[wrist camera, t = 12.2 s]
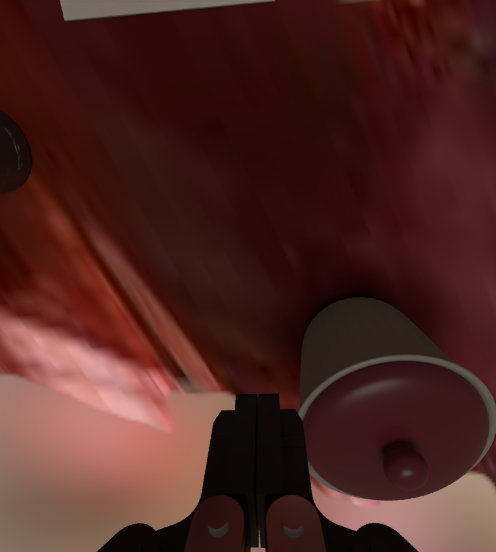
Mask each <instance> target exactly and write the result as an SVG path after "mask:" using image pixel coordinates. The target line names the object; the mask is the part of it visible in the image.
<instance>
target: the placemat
mask: <svg viewBox="0 0 496 552" xmlns="http://www.w3.org/2000/svg"><path fill="white" fill-rule="evenodd" d="M60 2H61V6H62V11H63V15H64V19H65V21H76V20H87V19H97V18H108V17H118V16H129V15H139V14H150V13H160V12H171V11H181V10H192V9H202V8H213V7H223V6H234V5H244V4H255V3H265V2H275V0H60Z"/></svg>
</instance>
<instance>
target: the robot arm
mask: <svg viewBox="0 0 496 552" xmlns="http://www.w3.org/2000/svg"><path fill="white" fill-rule="evenodd" d="M30 167H31V155H30V150H29V147H28V144H27V142H26V139H25V137H24V136H23V134H22V132H21V131H20V129H19V128H18V127H17V126H16V124H15V123H14V122H13V121H12V120H11V119H9V118H8V117H7V116H6V115H5V114H3V113H1V112H0V194H2V193H5V192H9V191H12V190H15V189H17V188H18V187H20V186H21V185H22V184H23V183H24V182H25V181H26V179H27V177H28V175H29V172H30ZM259 531H260V543H261V548H265V550H266V552H418V551H417V550H416V549H415V548H414V547H413V546H412V545H411V544H410V543H409V542H408V541H407V540H406V539H405V538H404V537H402V536H401V535H400V534H399V533H398V532H397V531H396V530H394V529H392V528H391V527H389V526H386V525H384V524H380V523H369V524H366V525H364V526H362V527H361V528H359V529H358V530H357V531H354V530H351V529H349V528H345V527H343V526H340V525H338V524H335V523H333V522H332V521H330V520H328V519H327V518H326V517H325V516H323V514H322V513H321V512H320V511H319V510H318V508H317V507H316V505H315V503H314V500H313V497H312V490H311V482H310V474H309V466H308V458H307V450H306V442H305V434H304V426H303V421H302V419H301V417H300V416H299V414H298V413H297V411H296V410H295V409H280V402H279V394H259V395H258V398H257V394H237V395H236V400H235V410H221V412H220V413H219V415H218V417H217V418H216V419H215V421H214V423H213V428H212V434H211V440H210V446H209V452H208V458H207V464H206V470H205V475H204V481H203V488H202V493H201V498H200V500H199V503H198V505H197V506H196V508H195V509H194V511H193V512H192V513H191V514H190V515H189V516H188V517H186V518H185V519H184V520H182V521H180V522H178V523H176V524H174V525H171V526H168V527H165V528H162V529H159V530H157V531H155V530H154V529H153V528H152V527H151V526H149V525H147V524H142V523H138V524H132V525H129V526H127V527H125V528H123V529H122V530H120V531H119V532H118V533H117V534H115V535H114V536H113V537H112V538H111V539H110V540H109V541H108V542H107V543H106V544H105V545H104V546H103V547H101V549H99V550H98V551H97V552H250V549H251V547H259Z"/></svg>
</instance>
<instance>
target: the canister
mask: <svg viewBox="0 0 496 552" xmlns="http://www.w3.org/2000/svg"><path fill="white" fill-rule="evenodd" d="M298 414H299V416H300V417H301V419H302V421H303V426H304V434H305V442H306V450H307V458H308V466H309V473H310V474H311V475H312V476H313V477H314V478H315V479H317V480H318V481H319V482H321V483H322V484H324V485H325V486H327V487H329V488H331V489H333V490H335V491H338V492H340V493H343V494H346V495H350V496H353V497H358V498H364V499H372V500H384V501H389V500H390V501H392V500H404V499H411V498H416V497H420V496H424V495H427V494H430V493H433V492H435V491H438V490H440V489H442V488H444V487H446V486H448V485H450V484H451V483H453V482H455V481H456V480H458V479H459V478H461V477H462V476H464V475H465V474H466V473H468V472H469V471H470V470H471V469H472V468H473V467H475V466H476V465H477V464H478V463H479V461H480V460H481V459H482V458H483V457H484V455H485V454H486V453H487V451H488V449H489V448H490V446H491V444H492V442H493V439H494V437H495V433H496V405H495V402H494V399H493V397H492V395H491V393H490V391H489V390H488V388H487V387H486V386H485V384H484V383H483V382H482V381H481V380H480V379H479V378H478V377H477V376H476V375H474V374H473V373H472V372H470V371H469V370H467V369H466V368H464V367H462V366H460V365H458V364H456V363H454V362H452V361H451V360H450V359H449V358H448V357H447V356H446V355H445V354H444V353H443V352H442V351H441V350H440V349H439V348H438V347H437V346H436V345H435V344H434V343H433V342H432V341H431V340H430V339H429V338H428V337H427V336H426V335H425V334H424V333H423V332H422V331H421V330H420V329H419V328H418V327H417V326H416V325H415V324H414V323H413V322H411V321H410V320H409V319H408V318H407V317H406V316H405V315H404V314H403V313H402V312H400V311H399V310H398V309H396V308H394V307H393V306H392V305H390V304H387V303H385V302H383V301H381V300H376V299H374V298H366V297H353V298H346V299H344V300H338V301H337V302H335V303H331V304H330V305H329V306H328V307H325V308H324V309H323V310H322V311H321V312H319V313H318V314H317V316H316V317H314V318H313V319H312V321H311V323H310V324H309V325H308V327H307V331H306V332H305V334H304V340H303V343H302V354H301V374H300V409H299V411H298Z"/></svg>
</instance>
